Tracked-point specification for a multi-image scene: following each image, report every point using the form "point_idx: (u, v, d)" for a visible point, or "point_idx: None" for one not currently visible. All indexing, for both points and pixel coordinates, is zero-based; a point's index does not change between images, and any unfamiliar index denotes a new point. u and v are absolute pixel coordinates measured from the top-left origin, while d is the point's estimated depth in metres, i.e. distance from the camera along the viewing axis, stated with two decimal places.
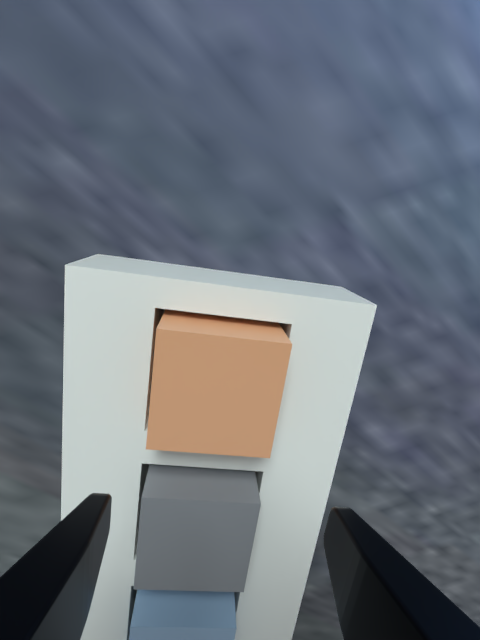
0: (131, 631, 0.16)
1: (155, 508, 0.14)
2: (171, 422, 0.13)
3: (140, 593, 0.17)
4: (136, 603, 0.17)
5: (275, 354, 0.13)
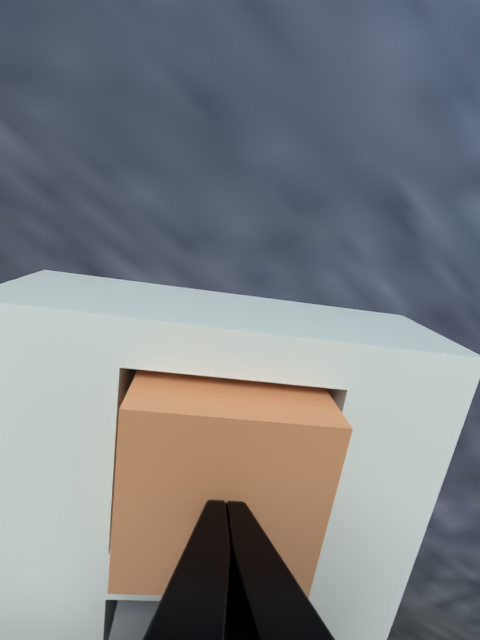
0: None
1: None
2: (149, 553, 0.08)
3: None
4: None
5: (323, 445, 0.08)
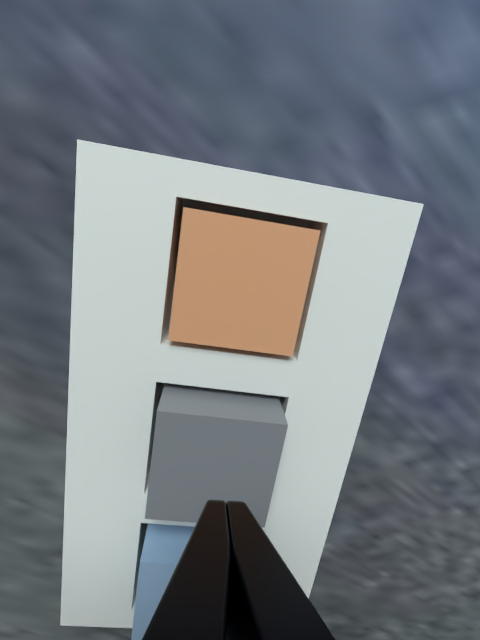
0: (141, 567, 0.15)
1: (172, 424, 0.13)
2: (195, 312, 0.13)
3: (150, 531, 0.16)
4: (146, 540, 0.15)
5: (302, 241, 0.13)
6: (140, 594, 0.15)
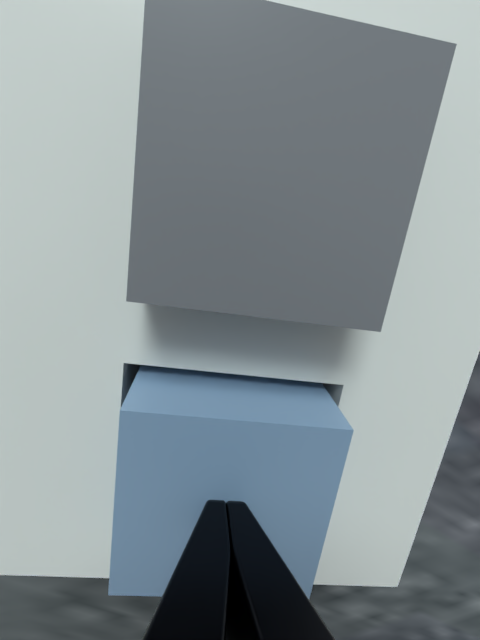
0: (123, 424, 0.07)
1: (184, 21, 0.05)
2: None
3: (143, 378, 0.08)
4: (134, 387, 0.08)
5: None
6: (124, 486, 0.07)
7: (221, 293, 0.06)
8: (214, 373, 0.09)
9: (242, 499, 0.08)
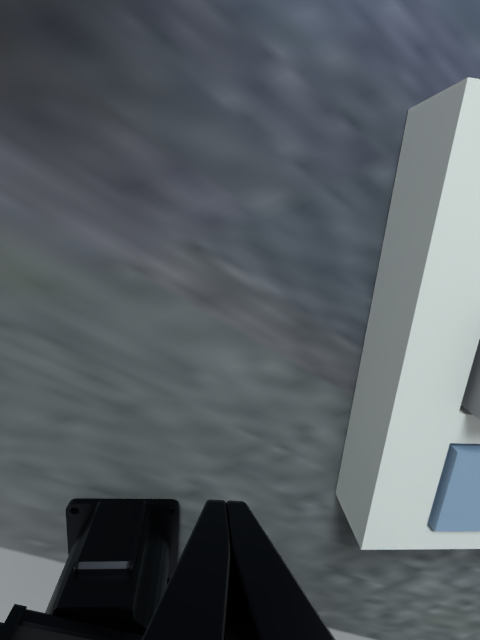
0: (457, 457, 0.17)
1: None
2: None
3: None
4: None
5: None
6: (452, 483, 0.18)
7: None
8: None
9: None
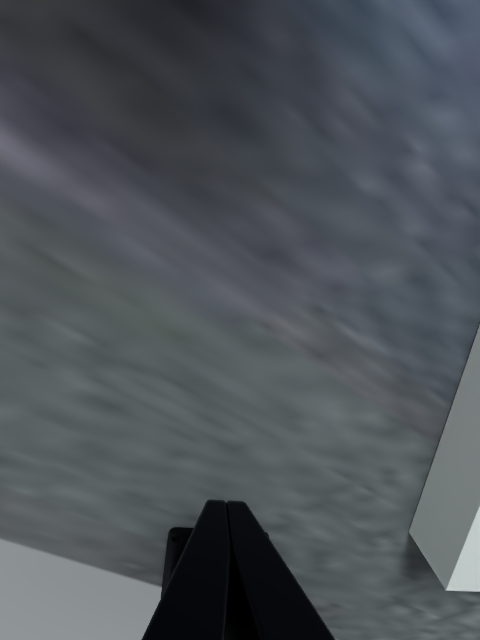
0: None
1: None
2: None
3: None
4: None
5: None
6: None
7: None
8: None
9: None
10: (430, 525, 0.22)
